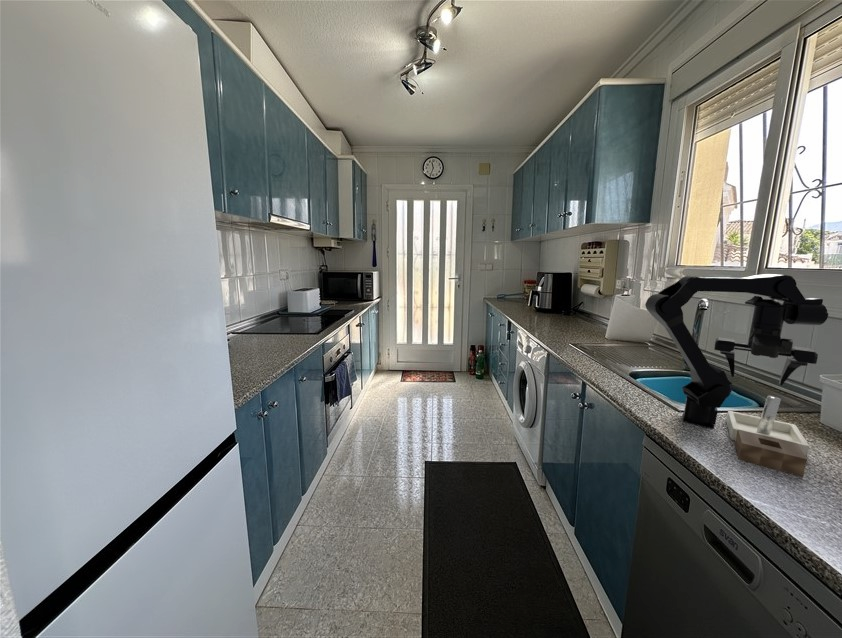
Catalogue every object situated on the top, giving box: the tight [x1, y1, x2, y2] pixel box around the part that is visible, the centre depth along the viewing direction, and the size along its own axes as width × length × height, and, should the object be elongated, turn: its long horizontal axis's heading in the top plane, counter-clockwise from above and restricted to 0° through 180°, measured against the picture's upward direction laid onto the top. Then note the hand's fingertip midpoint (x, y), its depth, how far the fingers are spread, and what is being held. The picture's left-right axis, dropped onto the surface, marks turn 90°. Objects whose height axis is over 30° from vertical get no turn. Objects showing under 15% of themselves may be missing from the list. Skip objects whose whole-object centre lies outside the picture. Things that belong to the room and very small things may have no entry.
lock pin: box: [757, 395, 782, 435], centre depth 86 cm, size 2×2×10 cm
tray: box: [725, 410, 810, 459], centre depth 87 cm, size 13×13×3 cm
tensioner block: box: [734, 429, 808, 478], centre depth 77 cm, size 10×8×4 cm
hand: (755, 380), depth 91 cm, fingers open, 9 cm apart
